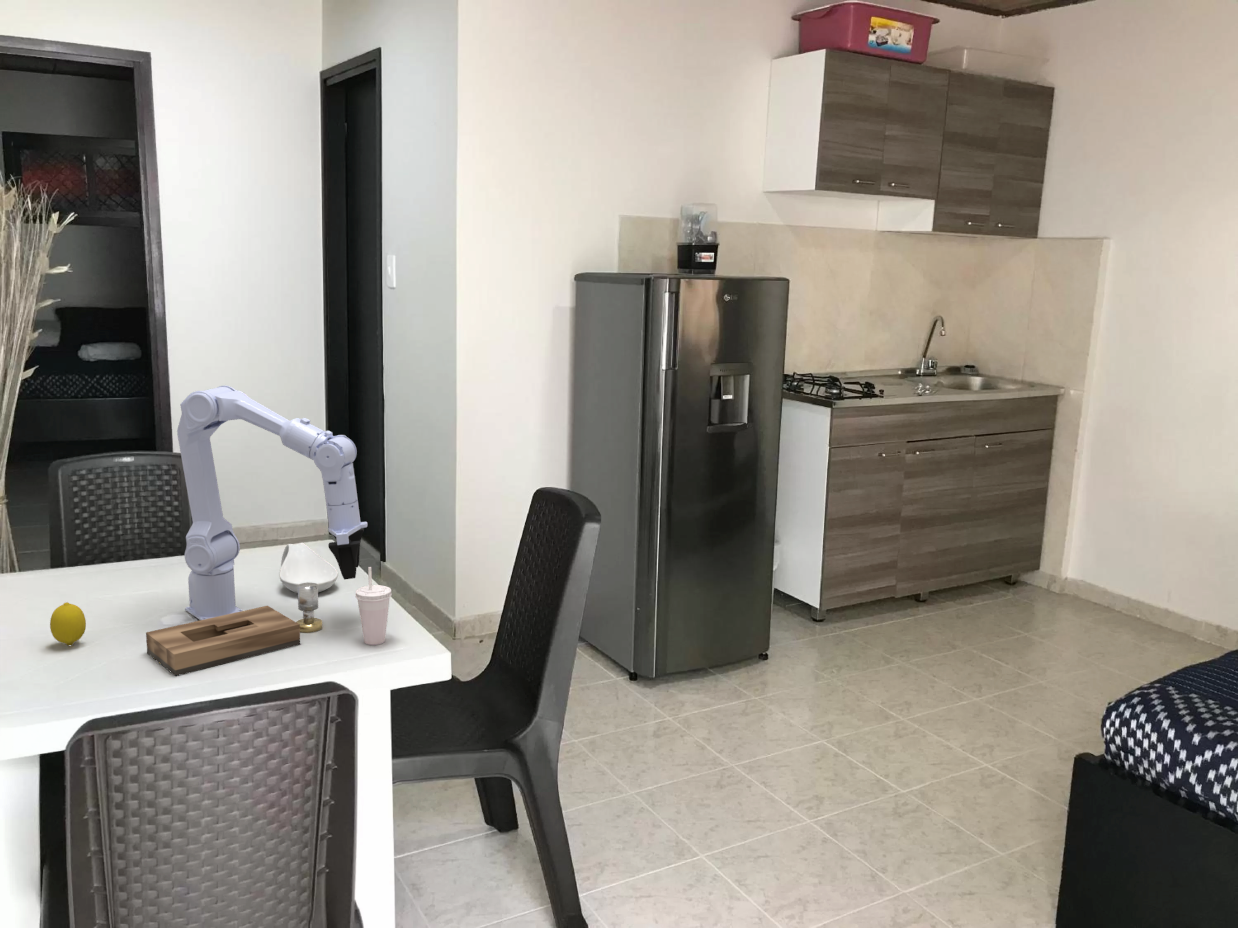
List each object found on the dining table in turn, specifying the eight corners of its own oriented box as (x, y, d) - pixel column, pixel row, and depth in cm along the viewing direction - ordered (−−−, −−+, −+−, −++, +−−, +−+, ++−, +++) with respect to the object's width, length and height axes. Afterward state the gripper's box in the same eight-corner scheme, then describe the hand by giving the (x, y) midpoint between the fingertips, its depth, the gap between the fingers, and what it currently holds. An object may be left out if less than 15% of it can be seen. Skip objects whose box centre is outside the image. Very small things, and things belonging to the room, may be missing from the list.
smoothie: (359, 634, 189) (357, 562, 186) (394, 634, 189) (393, 562, 186) (353, 647, 182) (351, 572, 180) (390, 647, 183) (388, 572, 180)
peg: (291, 627, 191) (289, 584, 190) (314, 621, 195) (313, 579, 193) (303, 634, 188) (301, 591, 186) (327, 628, 191) (325, 586, 190)
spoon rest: (345, 595, 211) (344, 561, 210) (286, 603, 205) (285, 569, 204) (316, 564, 231) (315, 533, 230) (263, 571, 225) (261, 539, 224)
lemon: (72, 652, 177) (68, 609, 175) (44, 649, 178) (40, 606, 176) (94, 641, 182) (91, 598, 180) (67, 638, 183) (63, 596, 182)
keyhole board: (147, 652, 178) (145, 632, 177) (268, 624, 192) (267, 605, 192) (175, 675, 168) (174, 654, 168) (300, 644, 183) (299, 624, 182)
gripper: (361, 507, 182) (370, 580, 184) (366, 492, 196) (375, 560, 198) (320, 512, 181) (330, 585, 183) (328, 496, 195) (338, 564, 197)
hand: (351, 572), depth 191 cm, fingers open, 7 cm apart
